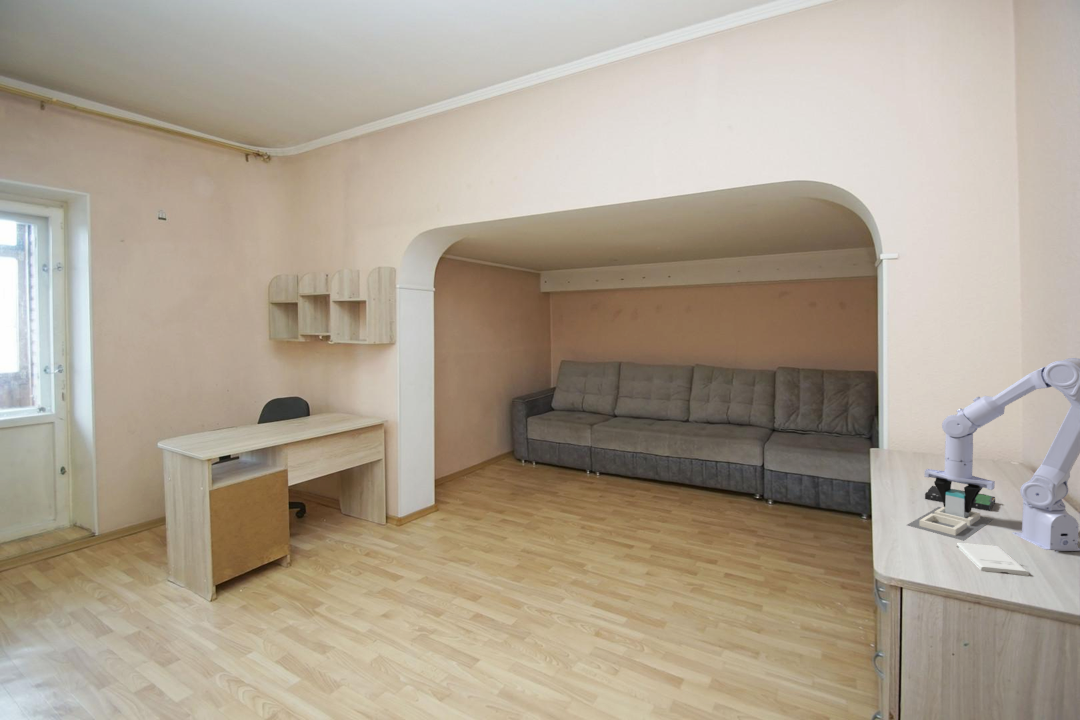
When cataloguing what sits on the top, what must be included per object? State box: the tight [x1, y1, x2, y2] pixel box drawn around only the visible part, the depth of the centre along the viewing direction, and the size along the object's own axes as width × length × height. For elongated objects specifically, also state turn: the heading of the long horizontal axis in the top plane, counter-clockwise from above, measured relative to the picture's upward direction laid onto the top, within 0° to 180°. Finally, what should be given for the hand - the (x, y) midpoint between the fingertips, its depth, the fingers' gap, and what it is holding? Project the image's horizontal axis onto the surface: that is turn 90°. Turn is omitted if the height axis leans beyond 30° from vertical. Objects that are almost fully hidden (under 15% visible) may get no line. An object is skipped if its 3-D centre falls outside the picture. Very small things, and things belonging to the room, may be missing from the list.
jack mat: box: [906, 506, 994, 541], centre depth 134 cm, size 21×12×1 cm, turn 124°
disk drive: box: [924, 485, 996, 512], centre depth 149 cm, size 10×3×15 cm
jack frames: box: [919, 505, 981, 535], centre depth 134 cm, size 17×8×2 cm, turn 124°
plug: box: [945, 488, 969, 518], centre depth 137 cm, size 4×4×7 cm
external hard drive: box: [956, 542, 1030, 577], centre depth 114 cm, size 2×8×12 cm
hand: (957, 509), depth 137 cm, fingers closed on plug, 4 cm apart
